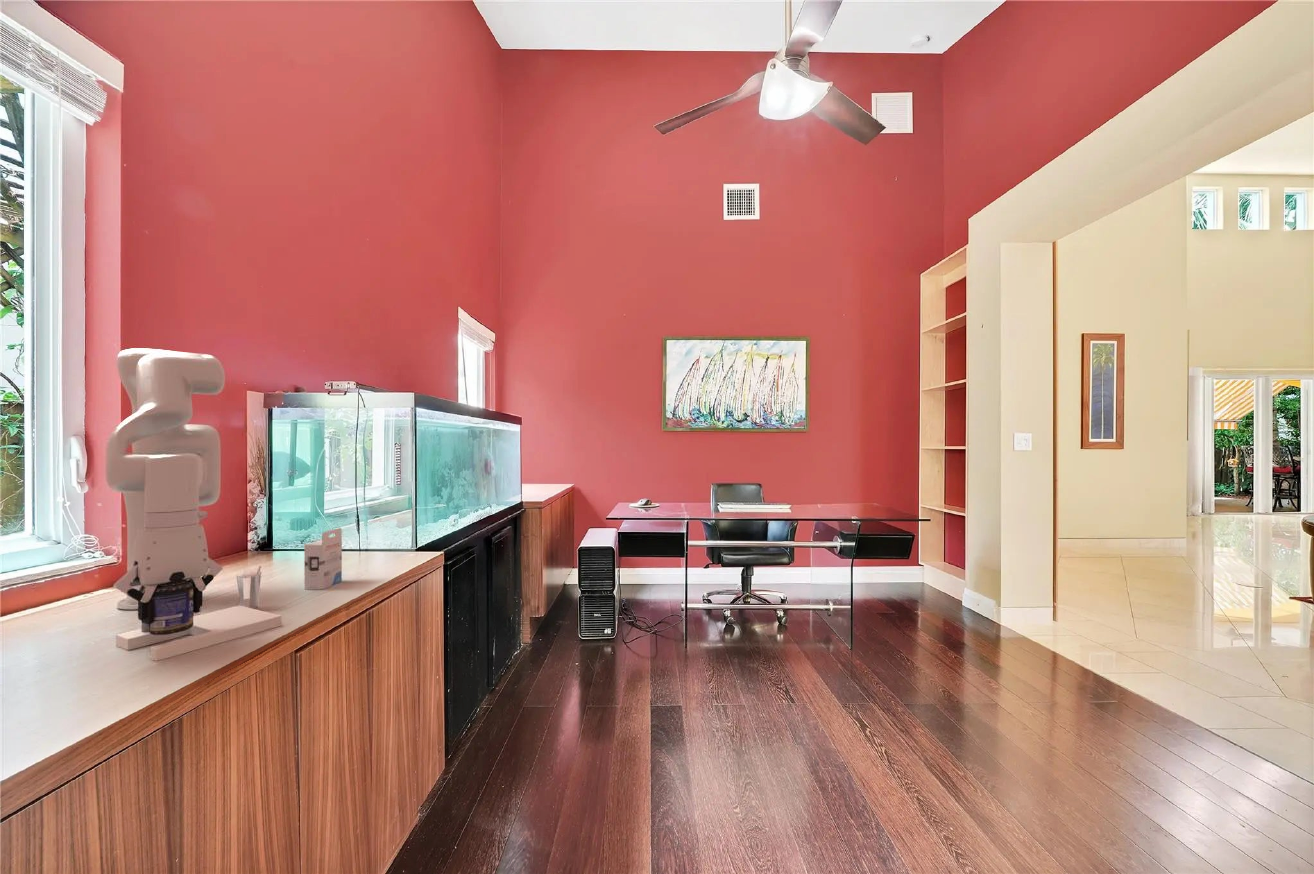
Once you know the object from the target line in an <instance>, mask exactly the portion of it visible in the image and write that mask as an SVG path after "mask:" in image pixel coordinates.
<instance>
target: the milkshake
mask: <svg viewBox="0 0 1314 874" xmlns="http://www.w3.org/2000/svg"><path fill="white" fill-rule="evenodd" d="M261 568H262V565H259V566H258V568H245V569H243V570H240V571H238V572H237V573H236V585H237V591H238V602H239V605H238V606H244V607H248V608H252V609H256V610H258V608H259V599H260V589H261V580H262V571H261Z"/></svg>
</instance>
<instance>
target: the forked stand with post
mask: <svg viewBox="0 0 1314 874" xmlns="http://www.w3.org/2000/svg"><path fill="white" fill-rule="evenodd" d="M139 585H141V584H136V583H133V582H130V586H131V587H133V586H139ZM280 626H282V615H280V614H275V613H271V612H268V611H263V610H259V609H252V608H248V607H244V606H239V605H237V606H232V607H228V608H223V609H219V610H215V611H211V612H207V613H202V614H198V615H195V616H194V615H193V626H192V627H191V628H190V629H188V630H185V631H182V632H178V633H173V634H167V635H152V634H150V633H149V624H145V623H142V622H141V626H140V627H141V628H139V629H134V630H131V631H127V632H122V633H119V634H118V633H117V634H115V646H116V647H119V648H120V649H124V650H125V651H130V650H134V649H138V648H141V647H145V646H149V645H154V644H156V643H157V644H158V643H160V642H164V641H169V640H172V639H175V638H176V639H177V638H180V637H183V636H188V635H190V636H189V637H185V638H182V639H178V640H174V641H170V642H165V643H162V644H159V645H155V646H150V660H152V661H155V662H157V661H161V660H165V659H168V658H171V657H175V656H178V655H183V654H186V653H188V652H189V653H190V652H192V651H196V650H200V649H202V648H203V649H204V648H206V647H211V646H214V645H218V644H221V643H224V642H229V641H232V640H235V639H240V638H241V637H246V636H249V635H252V634H253V635H254V634H256V633H260V632H264V631H266V630H270V629H271V630H272V629H274V628H277V627H280Z"/></svg>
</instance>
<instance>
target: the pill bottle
mask: <svg viewBox="0 0 1314 874" xmlns="http://www.w3.org/2000/svg"><path fill="white" fill-rule="evenodd" d="M183 578H185V575H184V573H183V572H176V573H172V575H171V576H170V578H169V580H170V582H168V583H165V584H160V585H157V586H156V588H155V590H154V592H153V594H152V596H151V601H153V602H154V622H153V623H152V624H149V633H150V634H152V635H167V634H173V633H178V632H182V631H185V630H188V629H190V628H191V627H192V626H193V616H194V613H193V583H192V582H190V581H187V580H185V579H183Z"/></svg>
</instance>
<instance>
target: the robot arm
mask: <svg viewBox="0 0 1314 874" xmlns="http://www.w3.org/2000/svg"><path fill="white" fill-rule="evenodd" d="M116 369H117V374H118V377H119V379H120V382H121V384H122V386H123V388H124V389H125V392H126V393H127V395H128V398H129V401H130V403H131V415H130V416H128V417H127V418H125V419H124V420H122V421H121V422H120V423H119V424H118V425H117V426H116V427H115V428H114V429H113V430H112V431H111V434H110V435H109V437H108V439H107V441H106V442H107V443H106V447H105V479H106V482H107V483H106V484H107V485H108V487H109V488H110V489H111V490H112V491H115V492H117V493H121V494H122V495H123V501H124V506H125V513H126V523H127V525H126V526H127V527H126V528H127V529H126V530H127V531H126V532H127V535H126V536H127V538H126V539H127V540H126V541H127V543H126V544H127V545H126V546H127V549H126V550H127V551H126V552H127V553H126V554H127V555H126V556H127V557H126V558H127V560H126V561H127V564H126V573H125V574H123V576H122V577H120V578H119V579H118V580H117V581H116V582H115V583H114V584H113V588H114V589H116V590H118V591H119V592H121V593H124V594H125V595H126V598H123V599H120V600H119V601H118V602H117V603H116V607H117V608H118V609H119V610H137V619H138V620H139V621H140V622H141V624H142V623H145V624H152V623H153V622H154V602H153V601H151V596H152V594H153V592H154V590H155V588H156V586H157V585H160V584H165V583H168V582H170V580H169V578H170V576H171V575H172V573H176V572H183V573H184V575H185V578H183V579H185V580H187V581H190V582H192V583H193V614H199V613H201V607H202V606H203V597H204V596H203V591H206V589H207V587H208V585H210V583H211V582H212V581H213V580H214V579H215V577H217V575H218V574H219V573H220V572H221V571H222V570H223V566H222V565H220V564H219V563H217V562H216V561H215V560H213V559H212V558H210V557H209V552H208V551H209V549H208V543H207V542H208V541H207V536H206V533H205V529H204V525H203V524H199V523H201V520H202V519H207V517H208V512H207V511H206V510H204V511H203V510H201V509H200V508H199V507H207V506H211V505H214V504H216V502H218V500H219V498H220V494H221V479H222V478H221V476H222V475H221V467H222V466H221V463H222V462H221V458H222V457H221V455H222V454H221V451H222V450H221V438H220V435H219V432H218V431H217V429H216V428H214V427H213V426H212V425H207V424H193V423H192V424H190V423H189V422H190V421H191V420H192V418H193V415H194V411H193V410H194V409H193V402H192V394H193V395H194V394H195V395H211V396H214V395H215V396H216V395H218V394H220V393H222V392H223V389H224V388H225V385H226V384H225V383H226V374H225V370H224V367H223V363H221V361H220V360H219V359H218V358H216V356H214V355H211V354H205V353H196V352H195V353H194V352H185V351H184V352H183V351H176V350H175V351H174V350H166V349H165V350H164V349H156V348H155V349H154V348H129V349H124V350H121V351H120V352H119V353H118V354H117V357H116ZM188 423H189V424H188ZM130 445H131V449H132V450H131V451H132V452H129V453H128V452H127V448H128V447H129V446H130ZM130 582H133V583H136V584H141V585H139V586H133V587H131V586H130Z"/></svg>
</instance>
